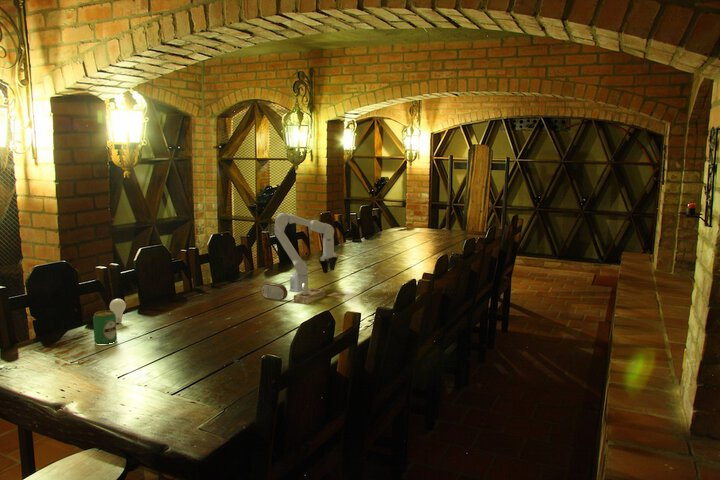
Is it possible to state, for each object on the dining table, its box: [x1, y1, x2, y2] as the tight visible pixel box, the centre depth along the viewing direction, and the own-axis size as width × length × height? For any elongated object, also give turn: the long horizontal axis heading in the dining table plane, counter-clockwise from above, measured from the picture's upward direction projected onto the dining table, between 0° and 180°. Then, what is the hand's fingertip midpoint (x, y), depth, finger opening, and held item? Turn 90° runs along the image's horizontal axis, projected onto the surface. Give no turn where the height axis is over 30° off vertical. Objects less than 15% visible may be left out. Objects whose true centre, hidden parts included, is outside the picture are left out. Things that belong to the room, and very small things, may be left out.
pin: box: [302, 282, 309, 296], centre depth 276 cm, size 3×3×10 cm
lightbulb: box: [109, 298, 127, 324], centre depth 237 cm, size 6×6×11 cm
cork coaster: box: [326, 292, 348, 299], centre depth 289 cm, size 8×8×1 cm
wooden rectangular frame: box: [293, 287, 326, 305], centre depth 281 cm, size 8×18×4 cm, turn 154°
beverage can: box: [92, 309, 118, 344], centre depth 214 cm, size 8×8×12 cm
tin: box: [260, 281, 288, 301], centre depth 280 cm, size 15×3×8 cm, turn 65°
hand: (328, 271), depth 299 cm, fingers open, 7 cm apart
